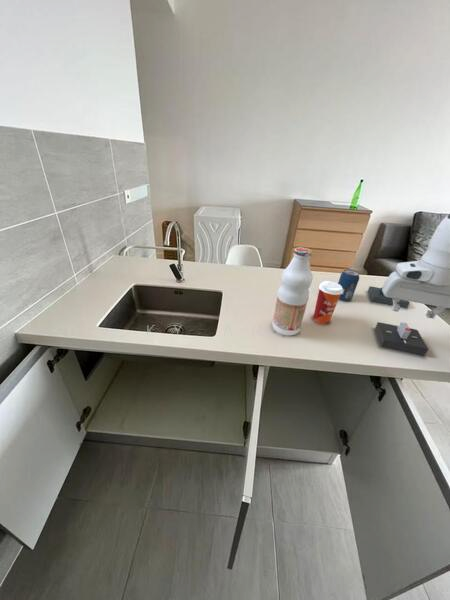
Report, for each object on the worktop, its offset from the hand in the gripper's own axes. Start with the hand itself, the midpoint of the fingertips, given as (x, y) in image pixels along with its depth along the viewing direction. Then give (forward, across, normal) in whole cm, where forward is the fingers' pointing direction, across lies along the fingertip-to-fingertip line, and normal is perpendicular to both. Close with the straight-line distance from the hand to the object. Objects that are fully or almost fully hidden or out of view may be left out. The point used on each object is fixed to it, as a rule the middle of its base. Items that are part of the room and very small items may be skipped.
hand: (411, 313), depth 74 cm
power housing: (+11, -3, -30) cm, 32 cm away
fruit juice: (+12, +36, +6) cm, 38 cm away
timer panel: (+11, 0, 0) cm, 11 cm away
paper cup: (+12, +24, -4) cm, 27 cm away
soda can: (+11, +15, -24) cm, 30 cm away
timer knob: (+8, 0, 0) cm, 8 cm away
